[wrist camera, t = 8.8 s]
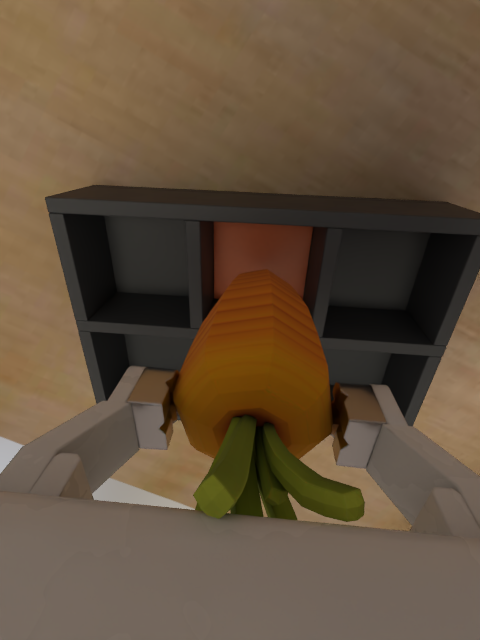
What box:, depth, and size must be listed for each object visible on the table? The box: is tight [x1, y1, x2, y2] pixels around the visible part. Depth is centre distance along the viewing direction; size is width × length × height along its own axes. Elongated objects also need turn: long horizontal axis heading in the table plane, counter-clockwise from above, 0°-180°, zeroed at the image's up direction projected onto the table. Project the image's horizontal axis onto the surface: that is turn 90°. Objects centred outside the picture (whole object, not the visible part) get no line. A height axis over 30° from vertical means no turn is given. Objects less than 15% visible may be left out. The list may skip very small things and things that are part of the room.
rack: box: [45, 185, 480, 426], centre depth 22 cm, size 15×23×5 cm
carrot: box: [173, 269, 365, 522], centre depth 12 cm, size 5×5×15 cm
